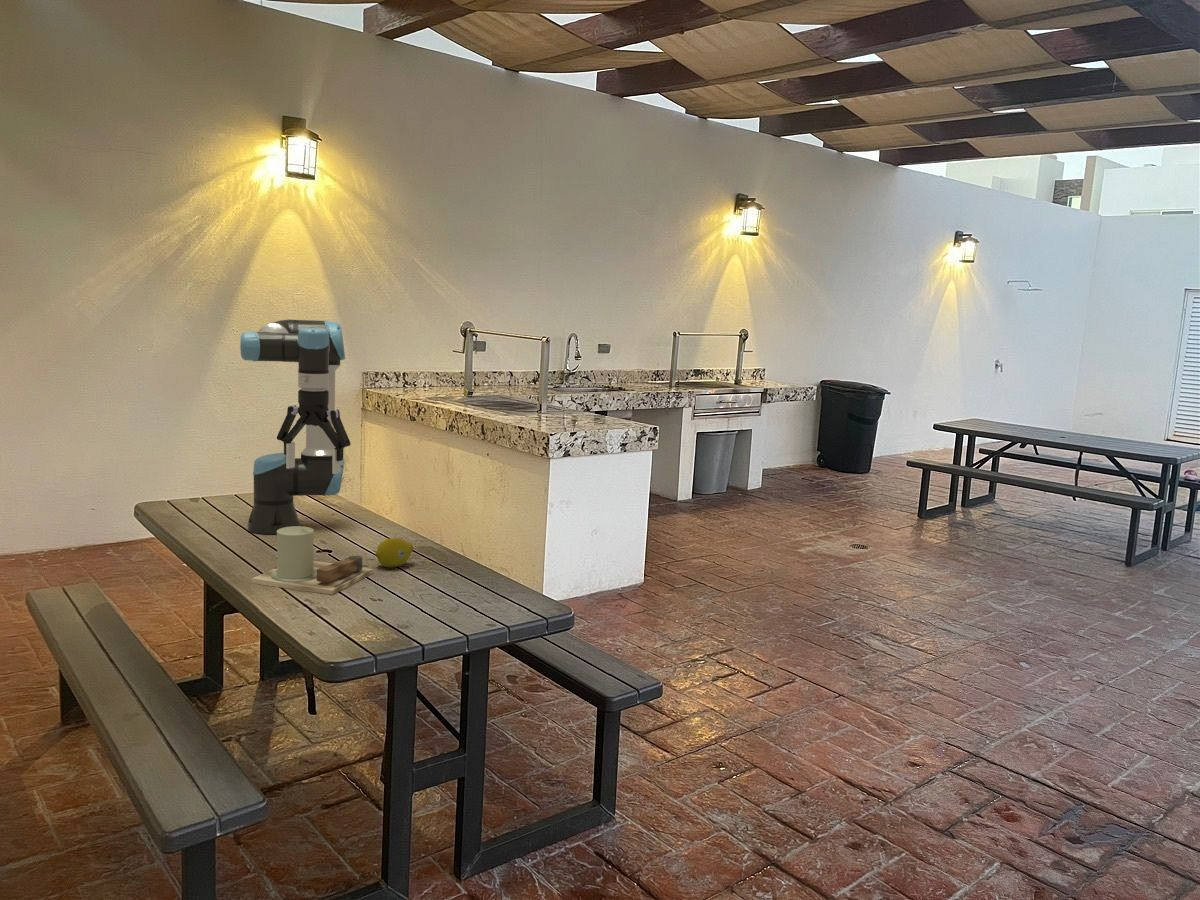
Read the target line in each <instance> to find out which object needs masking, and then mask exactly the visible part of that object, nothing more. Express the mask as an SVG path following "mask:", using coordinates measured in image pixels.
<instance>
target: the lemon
mask: <svg viewBox="0 0 1200 900" xmlns="http://www.w3.org/2000/svg"><path fill="white" fill-rule="evenodd" d="M413 550H414V546H413V544H412V543H410V542H409V541H407V540H405V539H403V538H399V537H398V538H397V537H391V538H386V539H384V540H383V541H381V543H379V544H378V546H377V549H376V552H375V554H374V555H375V557H376V558H377V561H378V562H379V564H380V565H381V566H382V567H386V568H390V569H391V568H397V567H400V566H403V564H405V563H406V562H407V561H409V558H410V557H411V555H412V553H413Z"/></svg>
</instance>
